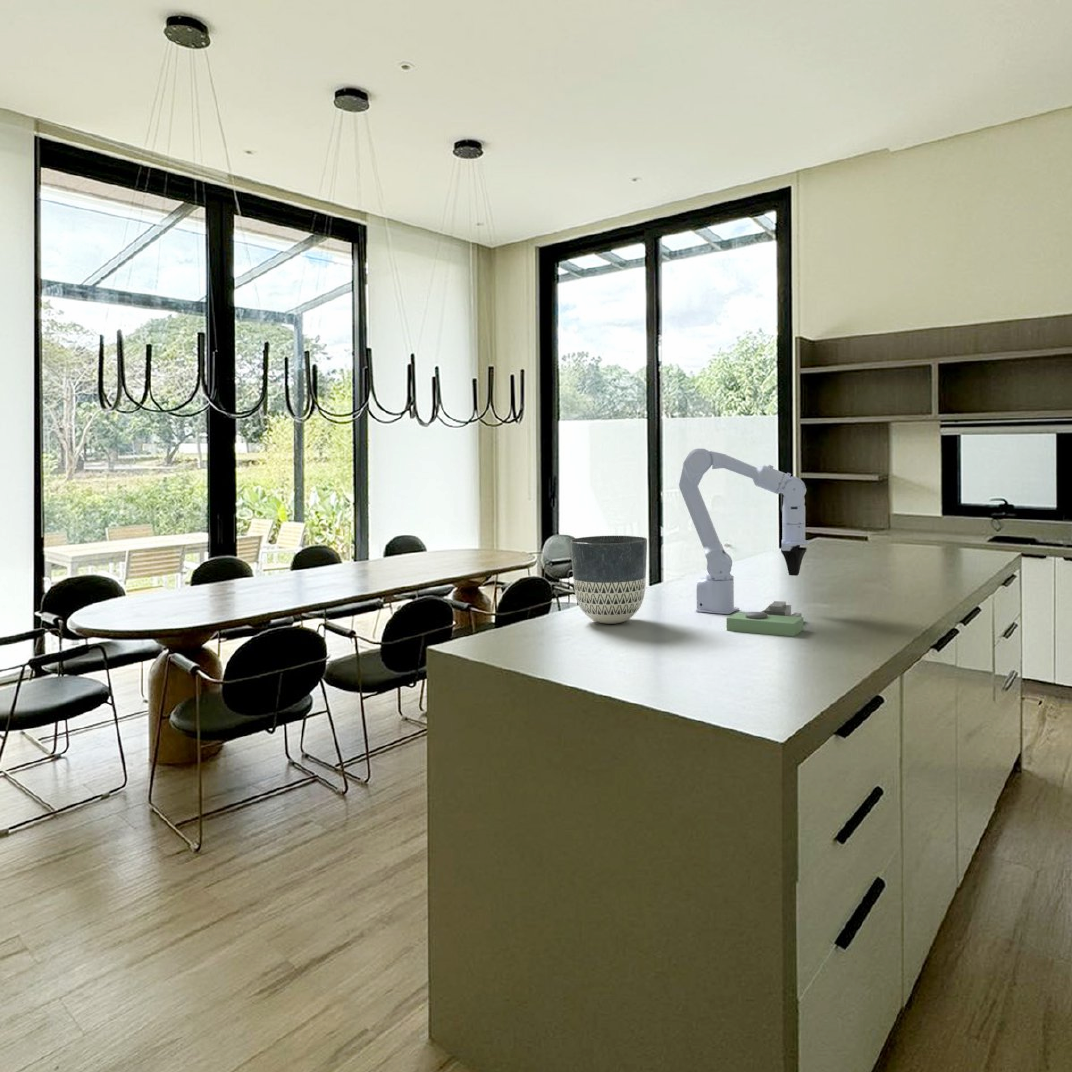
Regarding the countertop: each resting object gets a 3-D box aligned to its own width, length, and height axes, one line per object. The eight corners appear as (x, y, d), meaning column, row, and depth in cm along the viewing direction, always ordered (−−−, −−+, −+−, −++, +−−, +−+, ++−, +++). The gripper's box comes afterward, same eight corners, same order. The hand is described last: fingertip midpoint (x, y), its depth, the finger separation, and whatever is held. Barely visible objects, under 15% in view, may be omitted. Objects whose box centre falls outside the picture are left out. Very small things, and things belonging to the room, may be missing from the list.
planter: (572, 615, 223) (569, 536, 221) (644, 613, 222) (643, 534, 220) (573, 631, 204) (570, 544, 201) (652, 629, 203) (650, 542, 201)
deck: (726, 630, 199) (726, 614, 199) (751, 616, 214) (751, 602, 214) (793, 636, 190) (793, 620, 190) (814, 622, 205) (814, 606, 205)
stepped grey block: (764, 626, 203) (764, 606, 202) (770, 619, 211) (770, 600, 210) (785, 628, 201) (785, 607, 200) (791, 620, 209) (791, 601, 208)
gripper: (801, 526, 207) (801, 579, 209) (816, 521, 219) (816, 572, 221) (773, 525, 211) (773, 578, 212) (790, 520, 223) (790, 570, 225)
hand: (793, 575), depth 217 cm, fingers closed
